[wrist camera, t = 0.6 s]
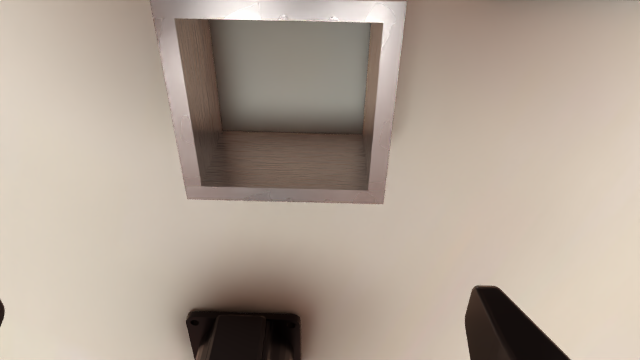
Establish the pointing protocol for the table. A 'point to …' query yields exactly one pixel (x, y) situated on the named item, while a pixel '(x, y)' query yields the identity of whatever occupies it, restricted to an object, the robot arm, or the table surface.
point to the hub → (277, 147)
